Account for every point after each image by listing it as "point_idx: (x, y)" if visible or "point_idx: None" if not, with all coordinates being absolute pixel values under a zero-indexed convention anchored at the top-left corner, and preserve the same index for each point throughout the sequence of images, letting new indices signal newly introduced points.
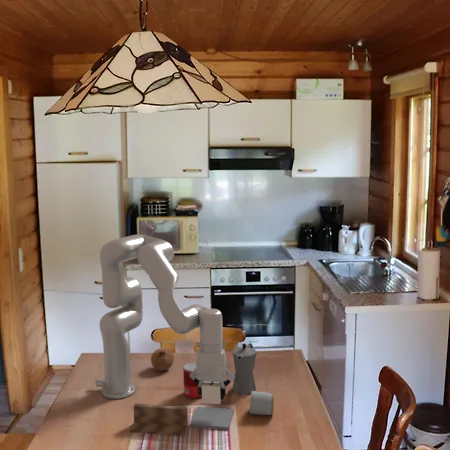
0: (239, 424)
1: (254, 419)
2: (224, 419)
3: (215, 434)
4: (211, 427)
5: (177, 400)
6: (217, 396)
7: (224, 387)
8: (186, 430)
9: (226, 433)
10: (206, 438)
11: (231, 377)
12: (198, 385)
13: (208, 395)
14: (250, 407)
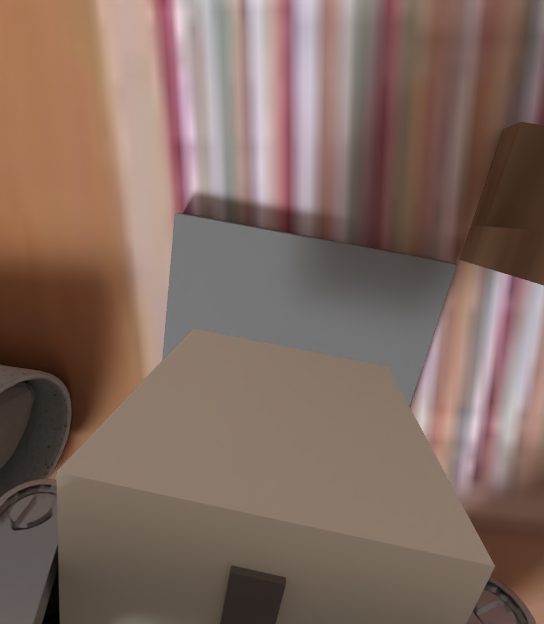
0: (120, 280)
1: (40, 333)
2: (207, 316)
3: (267, 155)
4: (295, 234)
5: (497, 567)
6: (189, 373)
7: (26, 501)
8: (477, 211)
9: (193, 168)
10: (332, 96)
11: None
12: (523, 619)
13: (318, 401)
14: (8, 380)
